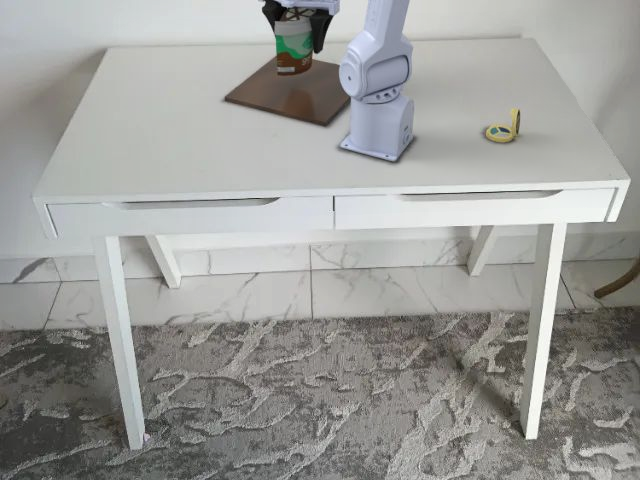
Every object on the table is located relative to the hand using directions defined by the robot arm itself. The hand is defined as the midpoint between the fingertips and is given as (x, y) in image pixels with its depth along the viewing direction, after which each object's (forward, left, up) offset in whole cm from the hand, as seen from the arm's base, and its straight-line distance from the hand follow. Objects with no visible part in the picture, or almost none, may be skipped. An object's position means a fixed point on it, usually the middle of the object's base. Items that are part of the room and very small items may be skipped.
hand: (299, 47), depth 115 cm
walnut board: (0, 0, -8) cm, 8 cm away
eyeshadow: (-37, 0, -8) cm, 38 cm away
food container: (0, 0, -4) cm, 4 cm away
